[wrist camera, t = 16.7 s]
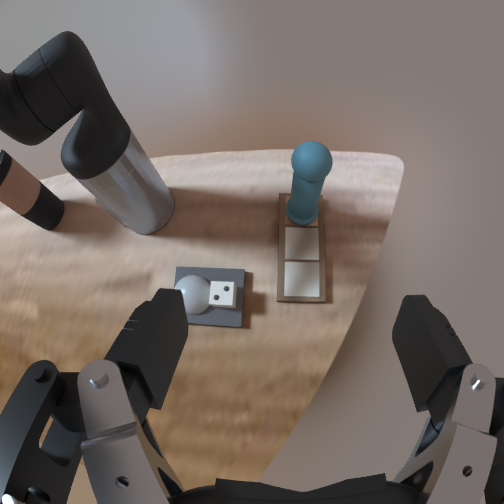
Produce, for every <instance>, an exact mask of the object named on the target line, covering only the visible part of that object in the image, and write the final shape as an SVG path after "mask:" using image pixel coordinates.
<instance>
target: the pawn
mask: <svg viewBox="0 0 504 504" xmlns="http://www.w3.org/2000/svg"><path fill="white" fill-rule="evenodd" d="M291 163H292V167H293V170H294V173H293V182H292V190H291V198H290V199H289V200H288V202H287V204H286V214H287V217H288V218H289V220H290V221H291V222H293V223H294V224H297V225H301V226H304V225H309V224H311V223H312V222H314V221H315V219H316V217H317V215H318V211H319V207H318V204H317V203H318V200H319V197H320V193H321V190H322V186H323V183H324V180H325V177H326V176H327V175H328V174H329V172H330V171H331V168H332V156H331V153H330V151H329V150H328V149H327V148H326V147H325V146H324V145H323V144H321V143H318V142H315V141H307V142H304V143H302V144H300V145H299V146H297V148H296V149H295V150H294V152H293V154H292V158H291Z"/></svg>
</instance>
